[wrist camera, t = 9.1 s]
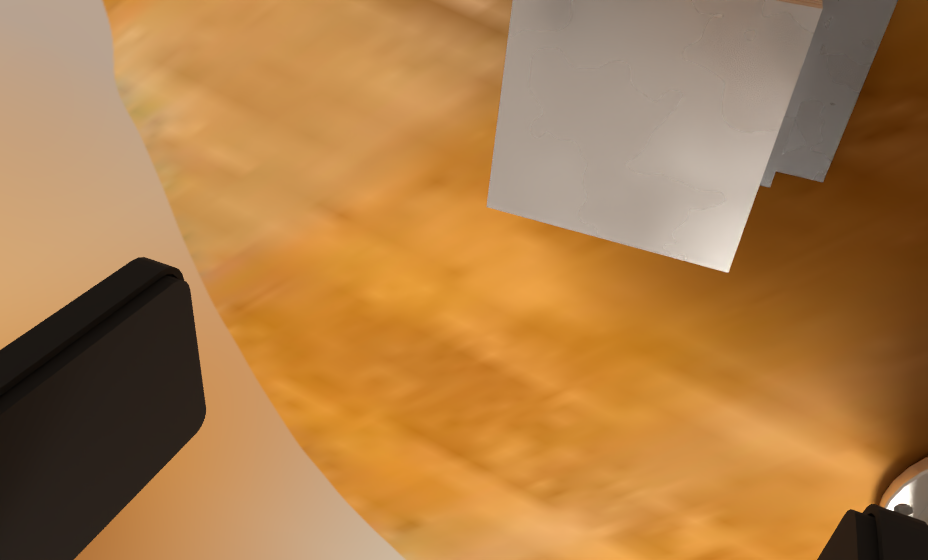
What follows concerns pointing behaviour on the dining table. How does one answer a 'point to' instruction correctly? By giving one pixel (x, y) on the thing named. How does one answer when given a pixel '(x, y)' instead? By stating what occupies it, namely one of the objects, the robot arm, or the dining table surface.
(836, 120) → the tester
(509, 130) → the grey flanged block
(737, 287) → the dining table surface
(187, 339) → the robot arm
